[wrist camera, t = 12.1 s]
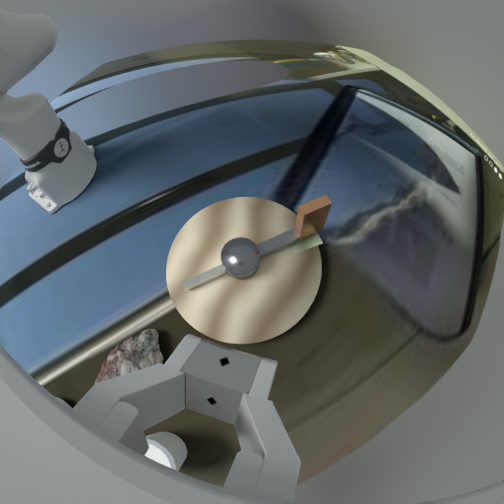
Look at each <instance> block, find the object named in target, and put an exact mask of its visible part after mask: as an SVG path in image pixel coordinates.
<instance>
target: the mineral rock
mask: <svg viewBox="0 0 504 504" xmlns="http://www.w3.org/2000/svg"><path fill="white" fill-rule="evenodd" d="M158 335H159V334H158V332H157V331H156V330H155V329H147V330H144V331H143V332H141V333H140V334H139V335H135V336H131V337H130V338H129V339H128V340H126V341H124V342H123V343H122V344H121V345H119V344H118V345H117V346H116V348H115V349H114V350H111V353H110V354H109V355H108V357H107V359H106V360H105V361H104V362H103V365H102V369H101V371H100V373H99V374H98V377H97V379H96V380H95V384H96V383H98V382H102V381H105V380H108V379H112V378H115V377H118V376H122V375H125V374H128V373H131V372H134V371H137V370H140V369H143V368H146V367H149V366H152V365H155V364H158V363H162V364H163V355H162V353H161V352H160V350H159V346H160V345H159V343H158V337H159V336H158ZM95 384H94V385H95Z"/></svg>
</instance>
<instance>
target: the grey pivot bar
mask: <svg viewBox="0 0 504 504" xmlns="http://www.w3.org/2000/svg"><path fill="white" fill-rule="evenodd" d="M331 205H332V202H331V201H330V200H329V198H328V197H327V195H324V196H321V197H319V198H317V199H314V200H312V201H309V202H307V203H305V204H302V205H300V206H299V207H298V213H297V219H296V225H295V228H293V229H291V230H288V231H286V232H284V233H282V234H280V235H277V236H275V237H273V238H271V239H268V240H266V241H264V242H262V243H260V244H257V245H256V244H255V243H254V242H253V241H252V240H250V239H248V238H244V237H238V238H234V239H231V240H230V241H228V242H227V243H226V244H225V245H224V246H223V248H222V251H221V261H222V264H221V265H219V266H217V267H214V268H212V269H210V270H208V271H205V272H203V273H201V274H199V275H197V276H194V277H192V278H190V279H188V280H186V281H183V282H182V284H183V287H184V289H185V290H186V291H187V290H189V289H192V288H194V287H196V286H198V285H200V284H203V283H205V282H207V281H209V280H211V279H214V278H216V277H218V276H220V275H223V274H225V273H226V272H227V273H228V274H229V275H230V276H231V277H233V278H235V279H247V278H250V277H252V276H253V275H254V274H255V273H256V272H257V271H258V269H259V266H260V259H263V258H265V257H267V256H269V255H271V254H273V253H276V252H278V251H280V250H282V249H284V248H286V247H289V246H291V245H293V244H295V243H297V242H299V241H300V240H302V239H304V238H306V237H309V236H311V235H313V234H315V233H317V232H319V231H321V230H323V228H324V225H325V222H326V219H327V216H328V213H329V210H330V207H331Z"/></svg>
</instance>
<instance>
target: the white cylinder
mask: <svg viewBox="0 0 504 504" xmlns="http://www.w3.org/2000/svg"><path fill="white" fill-rule="evenodd" d="M146 439H147V442H148V445H149V449H148V451H147V452H146V454H145V456H146V457H148V458H150V459H152V460H154V461H156V462H158V463H160V464H163V465H165V466H167V467H169V468H172V469H174V470H176V471H178V470H179V469H180V467H181V466H182V464H183V462H184V461H185V459H186V458H187V448H186V445H185V443H184V442H183V441H182V439H181V438H180V437H178V436H177V435H175V434H173V433H170V432H158V433H155V434H151V435H148V436H146Z"/></svg>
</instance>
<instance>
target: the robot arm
mask: <svg viewBox="0 0 504 504" xmlns="http://www.w3.org/2000/svg"><path fill="white" fill-rule="evenodd" d="M56 40H57V29H56V26H55V23H54V22H53V21H52V19H51V18H49V17H48V16H46V15H42V14H33V15H16V14H12V13H9V12H6V11H4V10H2V9H1V8H0V137H1V138H2V139H3V140H4V141H5V142H6V143H7V144H8V145H9V146H10V147H11V148H12V149H13V150H14V151H15V152H16V153H17V154H18V156H19V157H20V161H21V162H22V165H23V166H24V167H25V169H26V175H25V179H26V180H27V181H28V182H29V185H28V187H27V190H28V191H29V196H30V197H31V198H32V199H33V200H34V201H36V202H37V203H38V204H39V205H40V206H42V207H43V208H44V209H45V210H46V211H48V212H49V213H50V214H53V213H54V212H56V211H57V210H58V209H59V208H60V207H61V206H62V205H64V204H66V203H68V202H70V201H72V200H73V199H74V198H76V197H77V196H78V195H79V194H80V193H81V192H82V191H83V190H84V189H85V188H86V187H87V185H88V184H89V183H90V181H91V179H92V178H93V176H94V173H95V171H96V166H97V162H96V159H95V157H94V151H95V149H94V147H93V146H87V145H86V144H85V142H84V141H83V140H82V139H81V138H80V136H79V135H78V134H77V133H76V132H75V131H70V130H69V129H68V127H67V125H66V124H65V122H63V120H62V119H60V118H58V116H57V115H56V113H55V111H54V110H53V108H52V107H51V105H50V103H49V102H48V100H47V99H46V97H45V96H43V95H42V94H38V93H31V94H28V95H24V96H21V97H11V96H9V95H8V94H7V93H6V92H7V91H8V90H9V89H10V88H11V87H13V86H14V85H15V84H16V83H17V82H19V81H20V80H21V79H22V78H23V77H25V76H26V75H27V74H28V73H30V72H31V71H32V70H33V69H35V68H36V67H37V66H38V65H39V64H40V63H41V62H42V61H43V60H44V59H45V58H46V57H47V56H48V55H49V54H50V53H51V52H52V51H53V49H54V47H55V44H56ZM277 364H278V363H277V361H274V360H270V359H267V358H263V357H259V356H255V355H252V354H248V353H245V352H241V351H238V350H234V349H231V348H228V347H225V346H222V345H219V344H216V343H213V342H211V341H208V340H205V339H201V338H199V337H196V336H194V335H191V334H188V335H186V336H185V337H184V339H183V340H182V341H181V343H180V344H179V345H178V347H177V348H176V349H175V351H174V352H173V353H172V354H171V356H170V357H169V358H168V360H167V361H166V362H165V364H162V363H158V364H155V365H152V366H149V367H146V368H143V369H140V370H137V371H134V372H131V373H128V374H125V375H122V376H118V377H115V378H112V379H108V380H105V381H102V382H98V383H96V384H95V385H94V386H93V387H92V388H91V389H90V390H89V391H88V392H87V393H86V395H85V396H84V397H83V398H82V399H81V400H80V401H79V402H78V403H77V404H76V405H75V407H74V408H73V409H72V410H70V409H69V408H68V407H66V406H65V405H64V404H63V403H61V402H60V401H59V400H58V399H56V398H55V397H54V396H53V395H51V394H50V393H49V392H48V391H47V390H46V389H44V388H43V387H42V386H41V385H40V384H39V383H38V382H37V381H36V380H34V379H33V378H32V377H31V376H30V375H29V374H28V373H27V372H26V371H25V370H24V369H23V368H22V367H21V366H20V365H19V364H18V363H17V362H16V361H15V360H14V359H13V358H12V357H11V356H10V354H9V353H8V352H7V351H6V350H5V349H4V348H3V347H2V346H1V344H0V504H297V503H293V498H294V494H295V490H296V485H297V480H298V476H299V471H300V466H301V461H300V459H299V457H298V455H297V453H296V451H295V449H294V447H293V445H292V443H291V440H290V438H289V436H288V434H287V432H286V430H285V428H284V426H283V424H282V421H281V419H280V417H279V415H278V413H277V411H276V409H275V406H274V404H273V402H272V401H269V400H268V396H269V393H270V389H271V386H272V382H273V379H274V375H275V372H276V368H277ZM185 407H186V408H189V409H192V410H194V411H197V412H200V413H203V414H206V415H209V416H212V417H214V418H217V419H220V420H223V421H226V422H228V423H231V424H234V425H235V429H236V432H237V436H238V440H239V443H240V447H241V450H242V451H240V452H237V454H236V457H235V459H234V462H233V464H232V467H231V469H230V472H229V474H228V477H227V479H226V481H225V484H224V486H223V487H220V486H217V485H214V484H211V483H208V482H205V481H202V480H199V479H197V478H194V477H191V476H189V475H186V474H184V473H181V472H179V471H176V470H174V469H172V468H169V467H167V466H165V465H163V464H160V463H158V462H156V461H154V460H152V459H150V458H148V457H146V456H145V454H146V452H147V451H148V449H149V445H148V442H147V439H146V436H145V433H144V430H146V429H148V428H150V427H152V426H154V425H155V424H157V423H159V422H161V421H163V420H165V419H167V418H169V417H171V416H173V415H174V414H176V413H178V412H180V411H182V410H183V409H185ZM415 504H504V480H503V481H500V482H497V483H495V484H493V485H489V486H487V487H483V488H480V489H477V490H474V491H471V492H467V493H464V494H460V495H456V496H452V497H448V498H444V499H439V500H434V501H428V502H422V503H415Z"/></svg>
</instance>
